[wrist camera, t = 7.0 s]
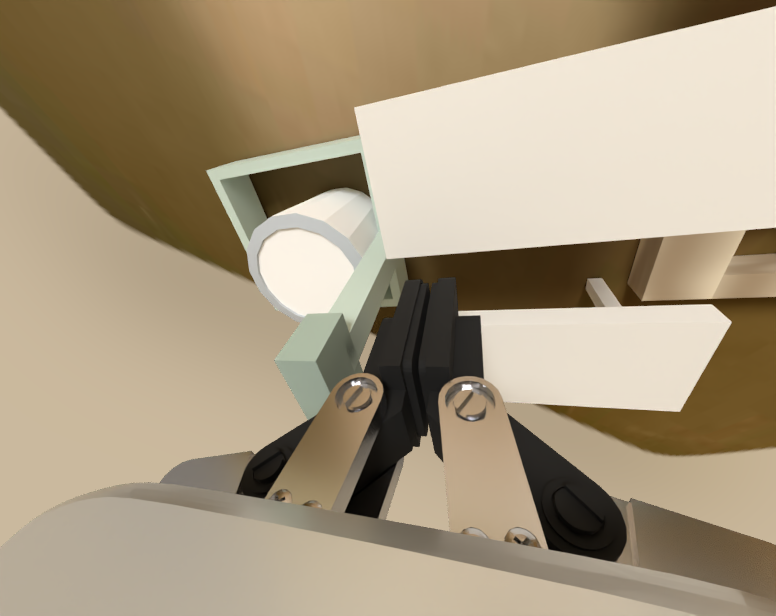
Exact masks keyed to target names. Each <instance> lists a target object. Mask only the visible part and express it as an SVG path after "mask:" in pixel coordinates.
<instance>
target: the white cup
mask: <svg viewBox="0 0 776 616" xmlns="http://www.w3.org/2000/svg"><path fill="white" fill-rule="evenodd" d="M377 233H378V229H377V224H376V219H375V215H374V210H373V206H372V201H371V198H370V197H368V196H367V195H366V194H364V193H363V192H361V191H358V190H354V189H350V188H347V187H345V188H338V189H332V190H329V191H327V192H324V193H322V194H320V195H318V196H316V197H313V198H311V199H309V200H307V201H304V202H302V203H300V204H298V205H296V206H293V207H291V208H289V209H287V210H284V211H282V212H280V213H278V214H276V215H273V216H271V217H270V218H268V219H267V220H266V221H265V222H263V223H262V224H261V225H259V226H258V227H257V228H255V229H254V231H253V234H252V236H251V239H250V242H249V244H248V247H247V255H248V264H249V271H250V273H251V275H252V277H253V279H254V281H255V283H256V285H257V287H258V288H259V291H260V292H261V293H262V294H263V295H264V296H265V297H266V299H267V300H268V301H269V302H270V303H271V304H272V305H273V306H274V307H275V308H276V309H277V310H279V311H281V312H282V313H284V314H285V315H287V316H288V317H290V318H292V319H293V320H295V321H297V322H300V323H301V322H302V320H303V319H304V318H305V316H306V315H307V314H317V313H329V311H330V309H331V308H332V306H333V304H334V303H335V301H336V300H337V298H338V296H339V295H340V293H341V292H342V290H343V288H344V287H345V285H346V283H347V282H348V280H349V279H350V277H351V275H352V274H353V272H354V271H355V269H356V267H357V266H358V264H359V262H360V261H361V259H362V258H363V256H364V254H365V253H366V251H367V250H368V248H369V246H370V245H371V243H372V241H373V240H374V238H375V237H376V235H377Z"/></svg>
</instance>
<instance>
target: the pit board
mask: <svg viewBox="0 0 776 616" xmlns="http://www.w3.org/2000/svg"><path fill="white" fill-rule="evenodd" d="M745 231H746V230H740V231H727V232H715V233H703V234H690V235H678V236H666V237H653V238H641V240H640V243H639V246H638V250H637V253H636V256H635V260H634V263H633V266H632V269H631V273H630V276H629V279H628V283H627V284H628V285H629V286H630V287H631V288H632V290H633V291H634V292H635V293H636V295H637V296H638V297H639V298H640V300H641V301H655V300H687V299H719V298H751V297H776V254H760V255H744V256H733V255H734V253H735V251H736V249H737V247H738V245H739V243H740V241H741V239H742V237H743V235H744V233H745Z"/></svg>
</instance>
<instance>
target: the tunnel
mask: <svg viewBox="0 0 776 616" xmlns="http://www.w3.org/2000/svg"><path fill="white" fill-rule="evenodd" d="M354 109H355V114H356V118H357V123H358V128H359V133H360V137H361V142H362V147H363V151H364V156H365V161H366V165H367V170H368V175H369V179H370V184H371V189H372V193H373V198H374V203H375V207H376V212H377V217H378V222H379V226H380V231H381V236H382V240H383V245H384V250H385V254H386V259H395V258H407V257H419V256H432V255H444V254H456V253H469V252H481V251H493V250H506V249H518V248H530V247H543V246H555V245H567V244H580V243H592V242H604V241H617V240H629V239H641V238H653V237H666V236H678V235H690V234H703V233H715V232H727V231H740V230H752V229H764V228H776V6H775V7H771V8H767V9H762V10H758V11H754V12H750V13H746V14H742V15H737V16H733V17H729V18H725V19H721V20H717V21H713V22H708V23H704V24H700V25H696V26H692V27H688V28H683V29H679V30H675V31H671V32H667V33H663V34H658V35H654V36H650V37H646V38H642V39H638V40H634V41H629V42H625V43H621V44H617V45H613V46H609V47H604V48H600V49H596V50H592V51H588V52H584V53H580V54H575V55H571V56H567V57H563V58H559V59H555V60H550V61H546V62H542V63H538V64H534V65H530V66H525V67H521V68H517V69H513V70H509V71H505V72H501V73H496V74H492V75H488V76H484V77H480V78H476V79H471V80H467V81H463V82H459V83H455V84H451V85H446V86H442V87H438V88H434V89H430V90H426V91H422V92H417V93H413V94H409V95H405V96H401V97H397V98H392V99H388V100H384V101H380V102H376V103H372V104H367V105H363V106H359V107H355V108H354ZM586 291H587V293H588V294H589V296H590V298H591V299H592V301H593V303H594V305H595V306H596V307H593V308H556V309H519V310H482V311H458V314H459V316H473V315H480V316H481V333H482V351H483V369H484V379H485V380H486V381H488V382H490V383H492V384H493V385H494V386H495V387H496V388H497V389H498V390H499V392H500V394H501V396H502V399H503V402H514V403H532V404H550V405H568V406H586V407H604V408H622V409H640V410H658V411H676V412H680V410H681V408H682V407H683V405H684V403H685V402H686V400H687V398H688V396H689V395H690V393H691V391H692V390H693V388H694V386H695V384H696V383H697V381H698V379H699V378H700V376H701V374H702V372H703V371H704V369H705V367H706V365H707V364H708V362H709V360H710V359H711V357H712V355H713V353H714V352H715V350H716V348H717V347H718V345H719V343H720V341H721V340H722V338H723V336H724V335H725V333H726V331H727V329H728V328H729V326H730V324H731V323H732V322H731V321H730V320H729V319H728V318H727V317H725V316H724V315H723V314H722V313H721V312H720V311H719V310H718V309H716V308H715V307H714V306H713V305H712V304H703V305H666V306H629V307H622V306H621V305H620V303H619V302H618V300H617V299H616V297H615V296H614V295H613V293H612V292H611V290H610V289H609V287H608V286H607V285H606V283H605V282H604V280H603V279H602V278H591V279H587V284H586Z"/></svg>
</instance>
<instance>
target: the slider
mask: <svg viewBox="0 0 776 616" xmlns="http://www.w3.org/2000/svg"><path fill="white" fill-rule="evenodd" d="M356 153H361V155H362V160H363V164H364V169H365V174H366V178H367V183H368V187H369V192H370V197H371V201H372V206H373V210H374V215H375V219H376V224H377V229H378V233H377V235H376V237H375V238H374V240H373V241H372V243H371V245H370V246H369V248H368V250H367V251H366V253H365V254H364V256H363V258H362V259H361V261H360V262H359V264H358V266H357V267H356V269H355V271H354V272H353V274H352V275H351V277H350V279H349V280H348V282H347V283H346V285H345V287H344V288H343V290H342V292H341V293H340V295H339V296H338V298H337V300H336V301H335V303H334V304H333V306H332V308H331V309H330V311H329V313H317V314H307V315H306V316H305V318H304V319H303V320H302V322H301V323H300V325H299V326H298V327H297V329H296V330H295V332H294V333H293V335H292V336H291V337H290V339H289V340H288V342H287V343H286V344H285V346H284V347H283V349H282V350H281V351H280V353H279V354H278V356H277V357H276V358H275V360H274V361H275V363H276V364H277V366H278V368H279V369H280V372H281V373H282V375H283V377H284V379H285V380H286V382H287V384H288V386H289V387H290V389H291V391H292V393H293V394H294V396H295V398H296V400H297V401H298V403H299V405H300V407H301V409H302V410H303V412H304V414H305V415H306V417H307V419H308V420H309V419H311V418H312V417H314V416H315V415H317V414H318V412H319V410H320V409H321V407H322V406H323V404H324V402H325V401H326V399H327V398H328V396H329V394H330V393H331V391H332V390H333V388H334V387H335V386H336V385H337V383H339V382H340V381H341V380H343V379H344V378H346V377H348V376H350V375H353V374H357V373H363V371H362V368H361V365H360V362H359V359H360V356H361V354H362V351H363V348H364V346H365V344H366V341H367V339H368V336H369V334H370V331H371V329H372V326H373V324H374V321H375V319H376V316H377V314H378V311H379V309H380V307H393V306H397V305H398V302H399V298H400V295H401V292H402V289H403V286H404V283H405V281H406V280H408V276H407V270H406V264H405V259H404V258H395V259H386V254H385V250H384V245H383V240H382V236H381V231H380V226H379V222H378V217H377V212H376V207H375V203H374V198H373V193H372V189H371V184H370V179H369V175H368V170H367V165H366V161H365V156H364V151H363V147H362V142H361V137H360V135H359V136H354V137H349V138H345V139H340V140H335V141H330V142H326V143H321V144H316V145H311V146H307V147H302V148H297V149H292V150H288V151H283V152H278V153H273V154H269V155H264V156H259V157H254V158H250V159H245V160H240V161H235V162H232V163H229V164H226V165H223V166H219V167H216V168H213V169H210V170H207V173H208V175H209V177H210V179H211V181H212V183H213V185H214V187H215V189H216V191H217V193H218V195H219V197H220V199H221V201H222V203H223V205H224V207H225V209H226V212H227V214H228V216H229V218H230V220H231V222H232V224H233V226H234V228H235V230H236V232H237V234H238V236H239V238H240V240H241V242H242V244H243V246H244V248H245V250H246V252H247V247H248V244H249V242H250V239H251V236H252V234H253V231H254V229H255V228H257V227H258V226H259V225H261V224H262V223H263V222H265V221H266V220H267V217H266V215H265V213H264V210H263V208H262V206H261V203H260V201H259V199H258V196H257V194H256V192H255V189H254V187H253V185H252V182H251V180H250V178H249V175H248V174H253V173H258V172H263V171H268V170H273V169H279V168H284V167H289V166H294V165H299V164H305V163H310V162H315V161H320V160H325V159H331V158H336V157H341V156H346V155H351V154H356ZM274 308H275V307H274ZM275 310H277V309H276V308H275Z"/></svg>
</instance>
